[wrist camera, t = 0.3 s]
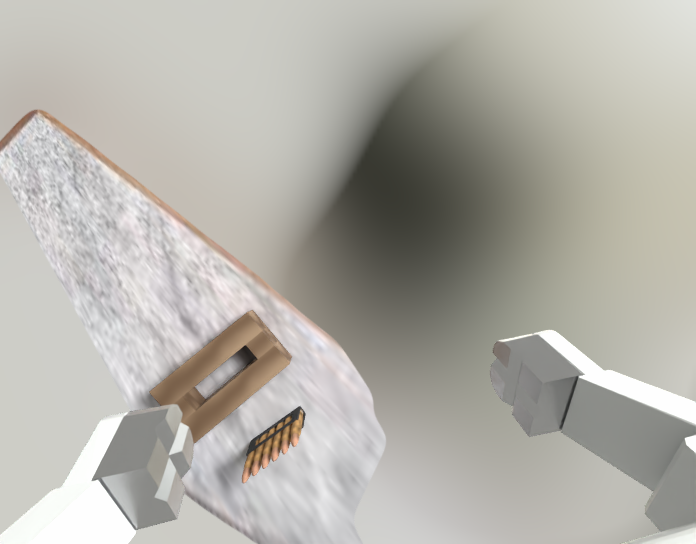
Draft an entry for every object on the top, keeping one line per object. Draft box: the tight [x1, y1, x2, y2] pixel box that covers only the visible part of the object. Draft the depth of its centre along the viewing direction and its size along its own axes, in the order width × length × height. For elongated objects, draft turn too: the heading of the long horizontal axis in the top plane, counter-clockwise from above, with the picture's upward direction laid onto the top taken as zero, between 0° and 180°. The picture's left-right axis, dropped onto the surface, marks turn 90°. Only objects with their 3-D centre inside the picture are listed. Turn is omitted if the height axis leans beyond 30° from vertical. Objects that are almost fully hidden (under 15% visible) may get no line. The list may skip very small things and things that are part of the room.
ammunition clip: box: [242, 406, 305, 483], centre depth 55 cm, size 11×2×12 cm, turn 124°
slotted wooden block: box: [149, 310, 292, 443], centre depth 57 cm, size 11×20×5 cm, turn 129°
